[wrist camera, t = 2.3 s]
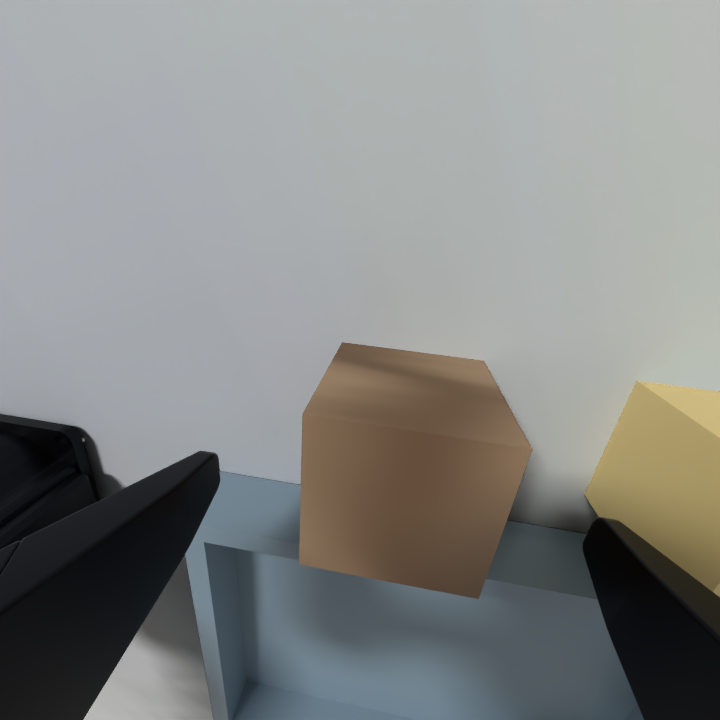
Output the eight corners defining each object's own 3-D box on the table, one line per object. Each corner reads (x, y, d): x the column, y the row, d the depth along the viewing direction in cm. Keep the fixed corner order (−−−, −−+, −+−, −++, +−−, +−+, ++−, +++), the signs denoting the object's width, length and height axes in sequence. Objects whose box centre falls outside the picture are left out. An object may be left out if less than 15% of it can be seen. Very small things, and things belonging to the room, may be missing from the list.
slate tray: (238, 671, 19) (215, 731, 17) (218, 470, 14) (179, 521, 11) (596, 753, 18) (624, 832, 15) (751, 562, 12) (834, 643, 10)
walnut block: (334, 452, 13) (298, 564, 8) (343, 341, 11) (302, 413, 7) (454, 472, 12) (478, 599, 8) (483, 360, 10) (532, 448, 6)
